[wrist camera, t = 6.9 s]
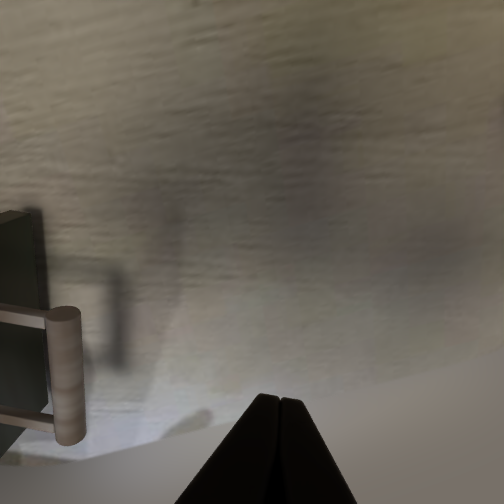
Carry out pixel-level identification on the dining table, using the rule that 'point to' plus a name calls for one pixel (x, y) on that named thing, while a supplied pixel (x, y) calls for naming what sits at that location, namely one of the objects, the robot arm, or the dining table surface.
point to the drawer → (35, 347)
